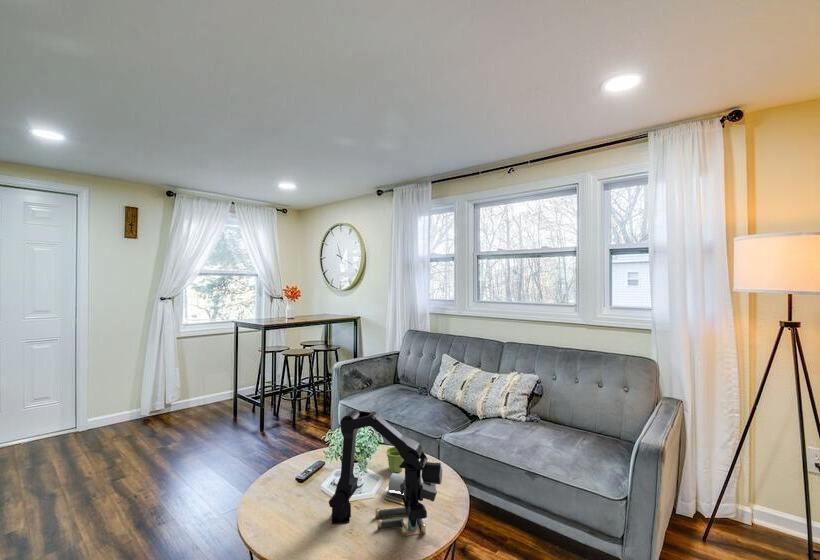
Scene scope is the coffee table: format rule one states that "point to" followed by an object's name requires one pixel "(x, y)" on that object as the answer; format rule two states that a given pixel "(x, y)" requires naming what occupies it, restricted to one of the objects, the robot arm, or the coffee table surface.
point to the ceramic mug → (396, 481)
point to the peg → (411, 526)
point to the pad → (413, 531)
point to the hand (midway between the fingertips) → (412, 523)
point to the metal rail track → (397, 522)
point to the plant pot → (394, 459)
